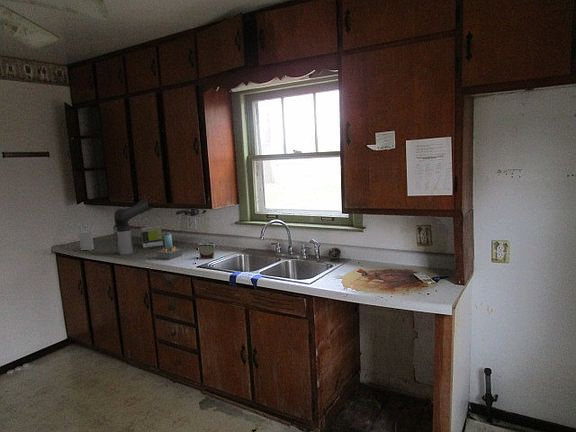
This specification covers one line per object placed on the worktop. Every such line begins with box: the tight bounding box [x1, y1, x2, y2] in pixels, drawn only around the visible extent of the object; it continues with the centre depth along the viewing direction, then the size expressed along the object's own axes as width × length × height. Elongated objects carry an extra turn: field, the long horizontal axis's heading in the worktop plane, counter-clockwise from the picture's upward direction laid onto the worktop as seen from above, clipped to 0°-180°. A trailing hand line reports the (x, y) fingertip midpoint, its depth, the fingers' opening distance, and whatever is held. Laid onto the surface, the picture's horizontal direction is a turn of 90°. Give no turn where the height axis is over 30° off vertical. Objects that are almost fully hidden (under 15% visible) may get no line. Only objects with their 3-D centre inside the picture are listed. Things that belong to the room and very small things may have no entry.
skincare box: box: [77, 230, 95, 251], centre depth 309 cm, size 8×6×15 cm
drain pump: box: [163, 232, 174, 251], centre depth 271 cm, size 5×5×12 cm
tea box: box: [140, 225, 164, 248], centre depth 315 cm, size 15×10×15 cm, turn 115°
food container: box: [197, 241, 216, 260], centre depth 266 cm, size 12×6×10 cm, turn 74°
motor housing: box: [156, 246, 183, 261], centre depth 273 cm, size 11×12×6 cm
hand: (180, 213), depth 287 cm, fingers open, 8 cm apart
